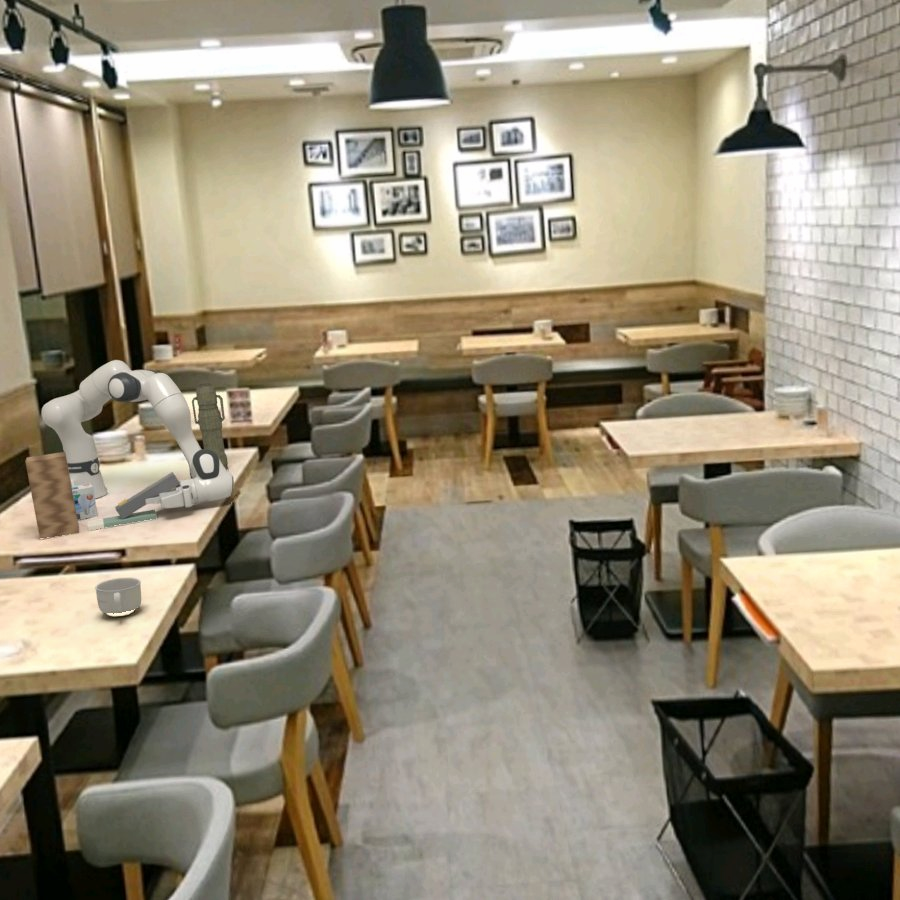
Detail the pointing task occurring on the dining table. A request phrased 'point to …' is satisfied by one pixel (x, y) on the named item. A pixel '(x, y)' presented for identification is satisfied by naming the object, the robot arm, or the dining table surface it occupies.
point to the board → (121, 520)
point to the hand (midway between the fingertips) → (144, 499)
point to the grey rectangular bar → (146, 495)
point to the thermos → (210, 420)
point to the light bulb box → (84, 501)
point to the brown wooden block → (52, 495)
